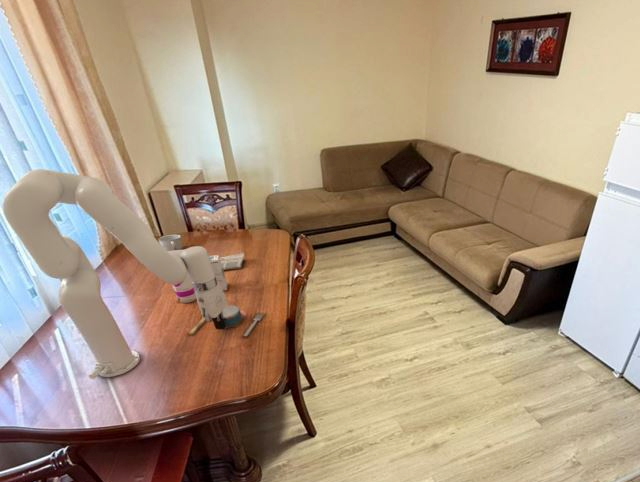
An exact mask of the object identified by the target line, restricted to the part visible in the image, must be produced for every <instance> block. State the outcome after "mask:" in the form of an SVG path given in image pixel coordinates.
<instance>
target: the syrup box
mask: <svg viewBox="0 0 640 482" xmlns="http://www.w3.org/2000/svg"><path fill="white" fill-rule="evenodd" d="M208 256H209V259H210V262H211V265H212V268H213V271H214V274H215V277H216V280H217V281H218V283H219V284H220V286H221V288H222V290H223V292H225V291H228V281H227V279H226V274H225V270H223V267H222V264H221V261H220V258H221V257H220V255H219V254H214V255H208Z"/></svg>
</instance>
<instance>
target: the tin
mask: <svg viewBox="0 0 640 482" xmlns="http://www.w3.org/2000/svg"><path fill="white" fill-rule="evenodd" d="M223 320H224V322H225V325H226V327H225V328H224V329H231V328H234V327H237V326H238V325H240V324H241V323H242V321H243V316H242V313H241V310H240V307H239V306H237V305H234V304H229V305H227V306H226V307H225V308H224V310H223Z"/></svg>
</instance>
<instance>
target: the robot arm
mask: <svg viewBox="0 0 640 482" xmlns="http://www.w3.org/2000/svg"><path fill="white" fill-rule="evenodd" d="M58 204H65V205H66V204H67V205H75V206H78V207H79V208H80V209H81V210H82V211H83V212H84V213H85V214H86V215H87V216H89V217H90V219H93V220H94V221H95V222H96V223H97V224H98V225H100V226H101V227H102V228H104V229H105V230H106V231H107V232H108V233H109V234H111V235H112V236H113V237H114V238H116V239H117V240H118V241H119V242H120V243H121V244H122V245H123V247H125V248H126V249H127V250H128V251H129V252H130V253H131V254H132V255H133V256H134V257H135V258H136V259H137V260H138V261H139V262H140V263H141V264H142V265H143V266H144V267H145V268H146V269H147V270H149V271H150V272H151V273H152V274H154V275H155V276H156V277H157V278H158V279H160V280H161V281H162V282H164V283H166V284H169V285H172V284H179V283H181V282H183V281H184V280H185V278H186V276H187V271H188V273H189V276H190V279H191V281H192V284H193V287H194V289H195V291H196V292H195V293H196V298H197V299H196V302H197V306H198V309H199V311H200V314H201V317H202V316H203V317H204V318H205V317H206V321H205V322H206V323H213V325H214V328H215V330H222V331H224V330H225V329H226V328H225V327H226V325H225V322H224V320H223V310H224V308H225V307H226V306H228V300H227V297H226V294H225V291H223V290H222V288H221V286H220V284H219V283H218V281H217V280H216V277H215V274H214V271H213V268H212V265H211V262H210V259H209V256H210V255H209V253H208V251H207V249H206V248H205V247H204V246H200V245H196V246H190V247H188V248H185V249H181V250H173V251H166V250H165V249H164V248H163V247H162V246H161V245H160V242H159V240H157V238H156V237H155V236H154V233H152V231H151V229H150V228H149V226H148V225H147V224H146V222H144V221H143V219H141V218H140V217H139V216H138V215H137V214H136V213H134V212H133V211H132V210H131V209H130V208H129V207H128V206H126V205H125V204H124V203H123V202H122V201H121V199H119V198H118V197H117V196H116V195H114V192H113V189H112V187H111V186H110V185H109V184H108V183H107V182H106V181H104V180H102V179H100V178H97V177H93V176H89V175H88V176H87V175H80V174H75V173H70V172H69V173H68V172H62V171H56V170H50V169H42V168H39V169H32V170H29V171H28V172H26V173H24V174H23V176H21V177H20V178H19V179H18V180H17V181H16V182H15V183H14V184H13V185H12V186H11V187H10V188H9V190H8V191H7V192H6V194H5V195H4V197H3V200H2V211H3V215H4V216H5V220H6V221H7V223H8V224H9V226H10V227H11V229H12V230H13V231H14V233H15V234H16V236H17V237H18V238H19V240H20V242H21V243H22V245H23V246H24V248H25V249H26V251H27V252H28V253H29V255H30V256H31V258H32V259H33V261H34V262H35V263H36V265H37V267H38V268H39V269H40V271H41V272H42V273H43V274H45V275H46V276H48V277H49V278H51V279H57V280H59V281H60V286H59V290H58V301H59V304H60V306H61V308H62V309H63V311H64V312H65V313H66V314H67V316H68V317H69V318H70V320H71V321H72V322H73V324H74V325H75V327H76V328H77V330H78V332H79V334H80V335H81V336H82V338H83V340H84V341H85V343H86V345H87V346H88V348H89V350H90V351H91V353H92V354H93V356H94V358H95V360H96V362H95V363H94V364H95V366H96V367H95V368H94V370H93V371H91V372H90V373H89V374H88V378H90V379H91V380H95V379H96V378H97V377H98V376H100V377H103V378H112V377H117V376H121V375H123V374H125V373H127V372H129V371H131V370H133V368H135V367H136V366H137V365H138V364H139V362H140V360H141V356H140V353H139V352H138V351H136V350H132V349H131V347H130V346H129V344H128V343H127V340H126V338H125V336H124V335H123V332H122V331H121V328H120V327H119V325H118V324H117V322H116V320H115V318H114V316H113V314H112V312H111V311H110V309H109V308H108V306H107V304H106V303H105V302H104V300H103V298H102V294H101V293H102V292H101V289H102V287H101V286H102V285H101V284H102V283H101V279H100V276H99V274H98V273H97V271H96V269H95V268H94V266H93V265H92V263H91V261H90V260H89V258H88V256H87V255H86V253H85V252H84V250H83V249H82V247H81V246H80V244H79V243H77V241H76V240H74V239H73V238H70V237H68V236H66V235H62V234H61V232H60V230H59V228H58V227H57V225H56V223H55V222H54V221H53V220H52V219H51V217H50V215H49V214H50V211H51V210H52V209H53V208H54V207H56V206H57V205H58Z"/></svg>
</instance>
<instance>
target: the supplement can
mask: <svg viewBox="0 0 640 482" xmlns="http://www.w3.org/2000/svg"><path fill="white" fill-rule="evenodd" d="M171 285H172V288H173V291H174V293H175V295H176V298H177V300H178V302H180V303H182V304H188V303H192V302H194V301H197V298H196V293H195V292H196V291H195V289H194V287H193V284H192V281H191V279H190V276H189V273H188V271H187V276H186V278H185V280H184V281H183V282H181V283H179V284H171Z"/></svg>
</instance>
